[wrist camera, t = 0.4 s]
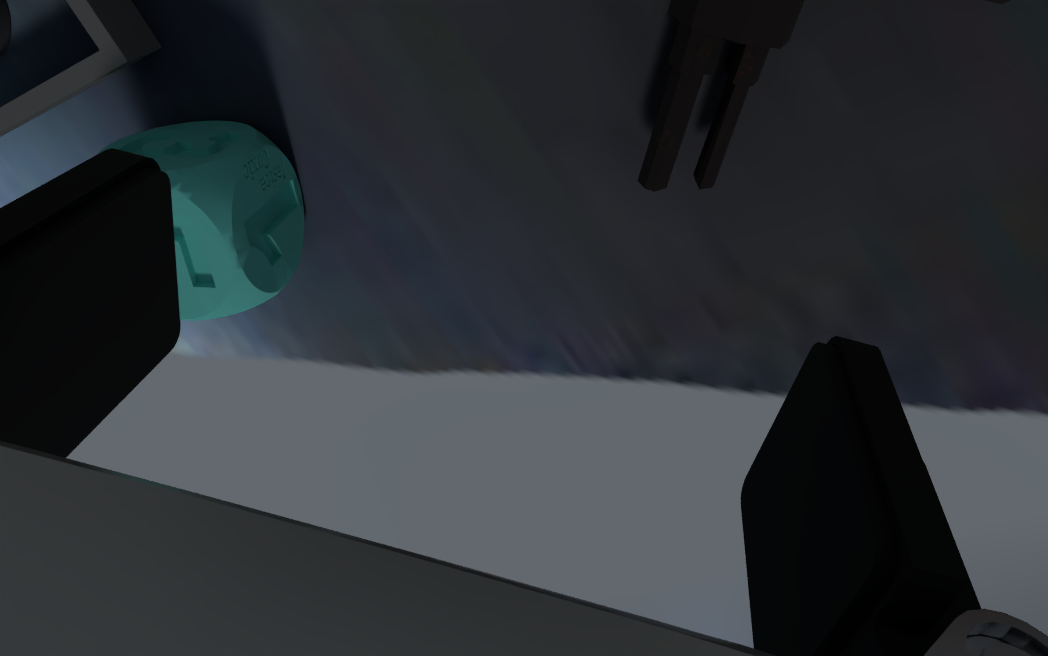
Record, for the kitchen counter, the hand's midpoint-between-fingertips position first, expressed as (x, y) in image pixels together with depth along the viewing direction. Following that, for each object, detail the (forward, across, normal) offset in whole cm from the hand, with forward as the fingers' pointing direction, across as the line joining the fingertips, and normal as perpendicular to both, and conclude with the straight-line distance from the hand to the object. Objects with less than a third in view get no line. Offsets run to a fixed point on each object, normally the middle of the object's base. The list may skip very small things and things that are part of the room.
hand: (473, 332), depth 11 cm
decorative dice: (+29, +18, +15) cm, 37 cm away
